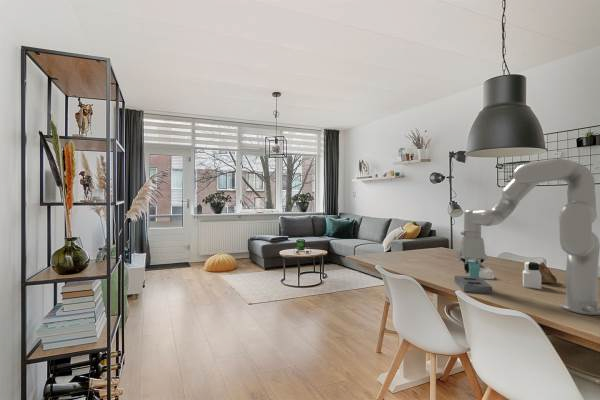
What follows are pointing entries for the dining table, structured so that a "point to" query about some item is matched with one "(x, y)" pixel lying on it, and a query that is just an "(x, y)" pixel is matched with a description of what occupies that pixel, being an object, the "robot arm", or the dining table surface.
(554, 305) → the dining table surface
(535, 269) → the medicine bottle
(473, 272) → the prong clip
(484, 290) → the slot rail
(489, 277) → the inkwell
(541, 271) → the decorative rock
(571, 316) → the dining table surface
